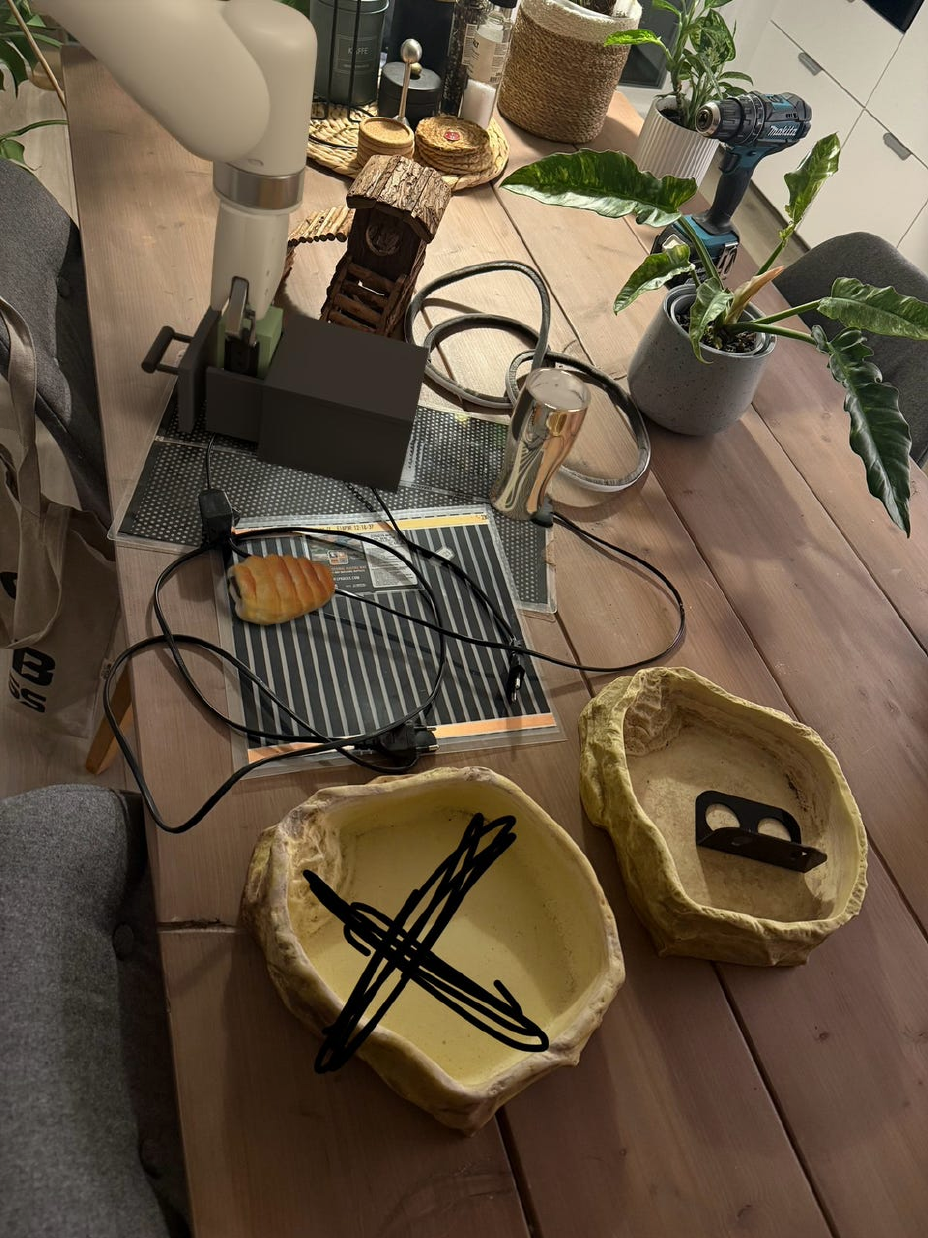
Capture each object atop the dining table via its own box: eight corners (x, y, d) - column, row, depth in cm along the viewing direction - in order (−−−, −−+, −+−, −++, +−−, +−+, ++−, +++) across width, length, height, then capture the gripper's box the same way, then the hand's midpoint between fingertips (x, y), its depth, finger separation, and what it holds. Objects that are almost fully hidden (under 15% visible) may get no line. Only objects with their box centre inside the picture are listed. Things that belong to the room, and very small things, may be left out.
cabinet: (257, 460, 90) (262, 383, 83) (284, 387, 98) (291, 312, 91) (397, 493, 92) (414, 421, 84) (412, 419, 100) (429, 348, 92)
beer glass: (493, 524, 92) (535, 411, 81) (477, 478, 96) (515, 363, 85) (554, 523, 94) (603, 413, 83) (536, 478, 98) (580, 367, 87)
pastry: (320, 560, 83) (325, 533, 81) (344, 615, 80) (349, 589, 77) (221, 577, 79) (222, 549, 77) (241, 636, 76) (243, 608, 73)
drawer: (135, 420, 88) (130, 354, 82) (170, 355, 95) (168, 291, 90) (310, 462, 90) (318, 401, 84) (331, 396, 98) (340, 336, 92)
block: (217, 367, 86) (218, 322, 82) (230, 339, 89) (232, 295, 86) (267, 380, 87) (271, 336, 83) (279, 351, 90) (283, 308, 86)
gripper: (240, 123, 79) (232, 302, 93) (184, 209, 68) (185, 398, 82) (322, 147, 80) (302, 321, 94) (280, 236, 69) (265, 418, 83)
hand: (248, 355), depth 88 cm, fingers closed on block, 5 cm apart
